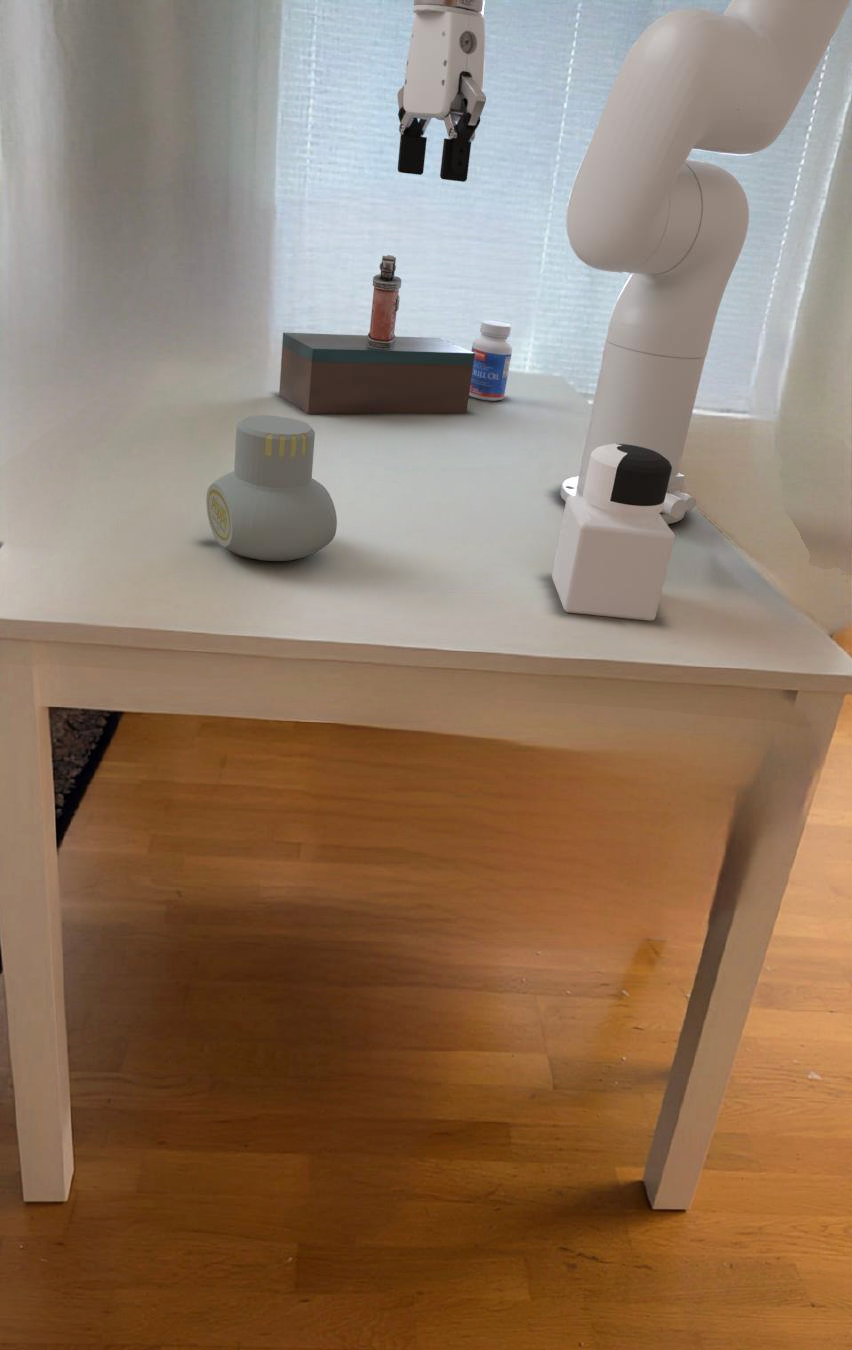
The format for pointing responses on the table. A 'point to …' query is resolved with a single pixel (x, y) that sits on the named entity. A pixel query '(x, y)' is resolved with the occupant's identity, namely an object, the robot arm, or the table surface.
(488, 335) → the pill bottle
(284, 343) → the brown rectangular block
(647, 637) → the table surface
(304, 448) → the air freshener
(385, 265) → the red smoke grenade
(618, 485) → the medicine bottle
